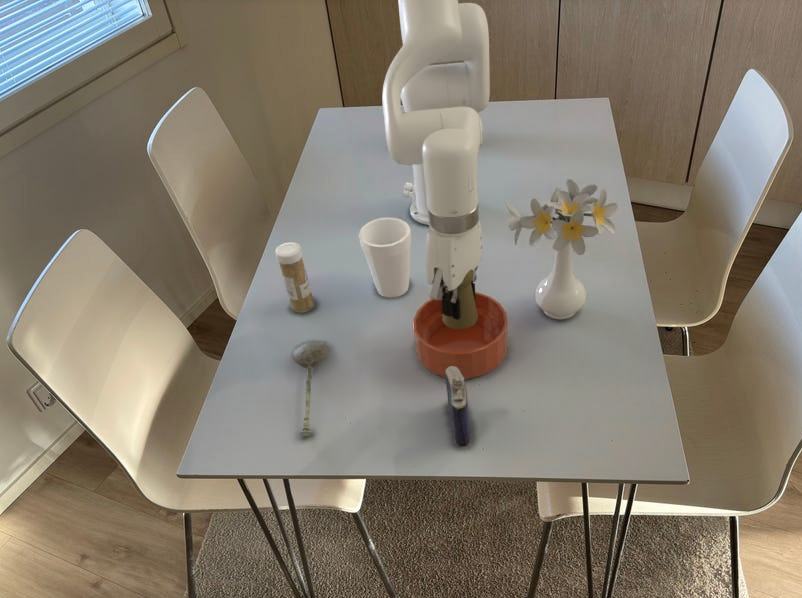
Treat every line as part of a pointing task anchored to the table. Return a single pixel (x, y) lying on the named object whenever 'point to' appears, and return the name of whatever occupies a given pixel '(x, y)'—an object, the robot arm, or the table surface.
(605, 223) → the flower vase
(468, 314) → the olive peg figure
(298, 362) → the soupspoon
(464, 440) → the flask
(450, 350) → the orange plant pot
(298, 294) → the sprinkles bottle
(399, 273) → the foam cup
